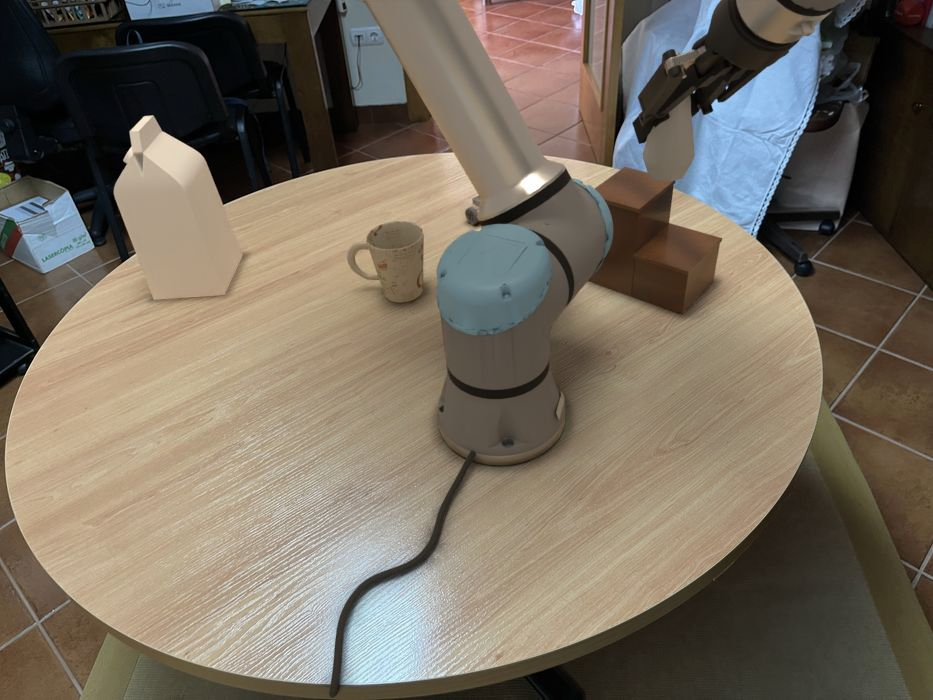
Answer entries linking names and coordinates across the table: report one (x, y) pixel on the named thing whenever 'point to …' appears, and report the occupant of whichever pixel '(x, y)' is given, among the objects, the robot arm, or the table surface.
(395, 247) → the mug
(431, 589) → the table surface
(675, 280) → the step shelf
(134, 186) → the milk
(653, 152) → the salt shaker
